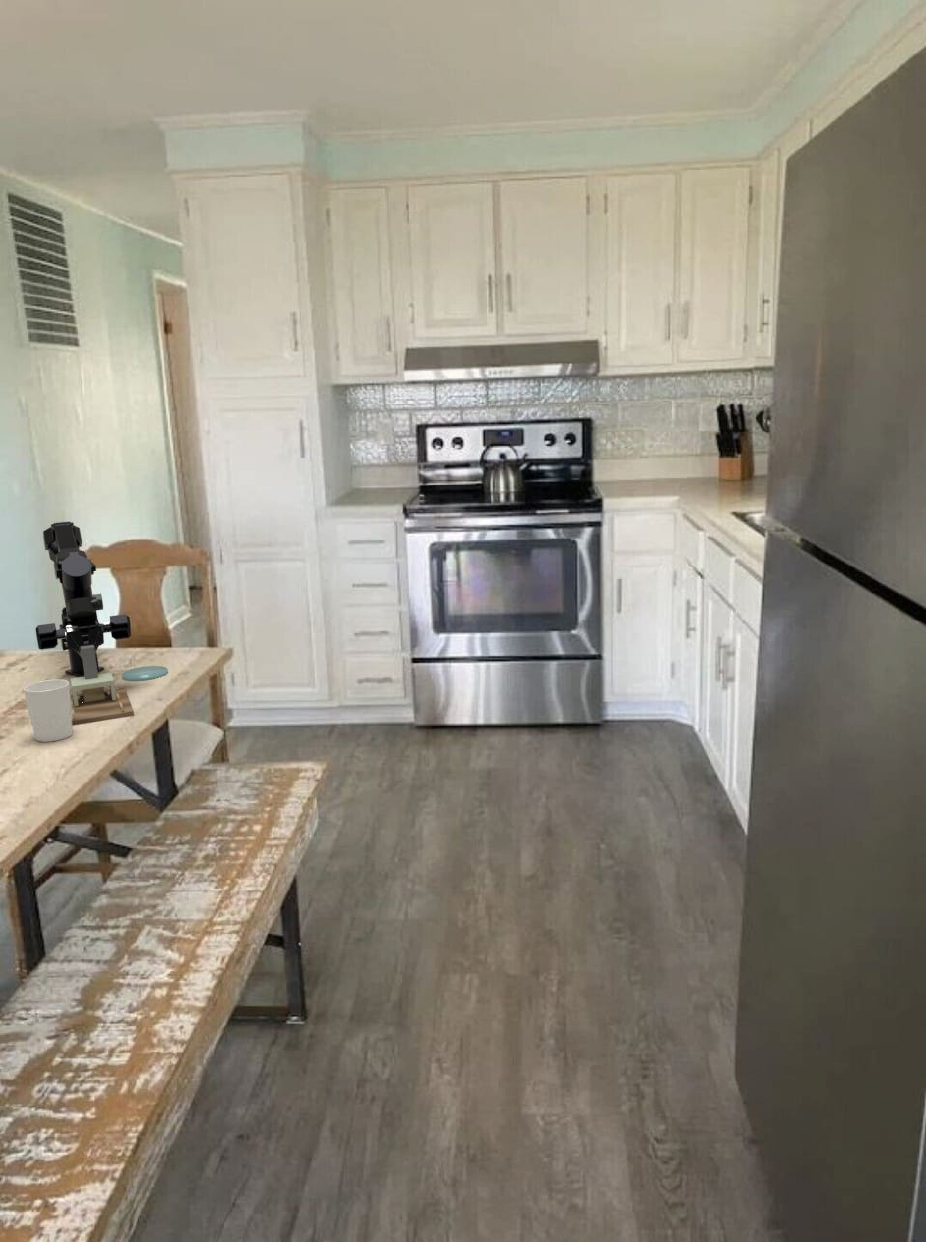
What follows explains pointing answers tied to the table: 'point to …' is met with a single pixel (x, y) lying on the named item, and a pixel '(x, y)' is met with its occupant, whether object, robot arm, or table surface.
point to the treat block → (93, 694)
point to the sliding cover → (91, 675)
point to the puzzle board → (102, 708)
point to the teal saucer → (144, 673)
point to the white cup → (50, 709)
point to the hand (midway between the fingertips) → (89, 664)
